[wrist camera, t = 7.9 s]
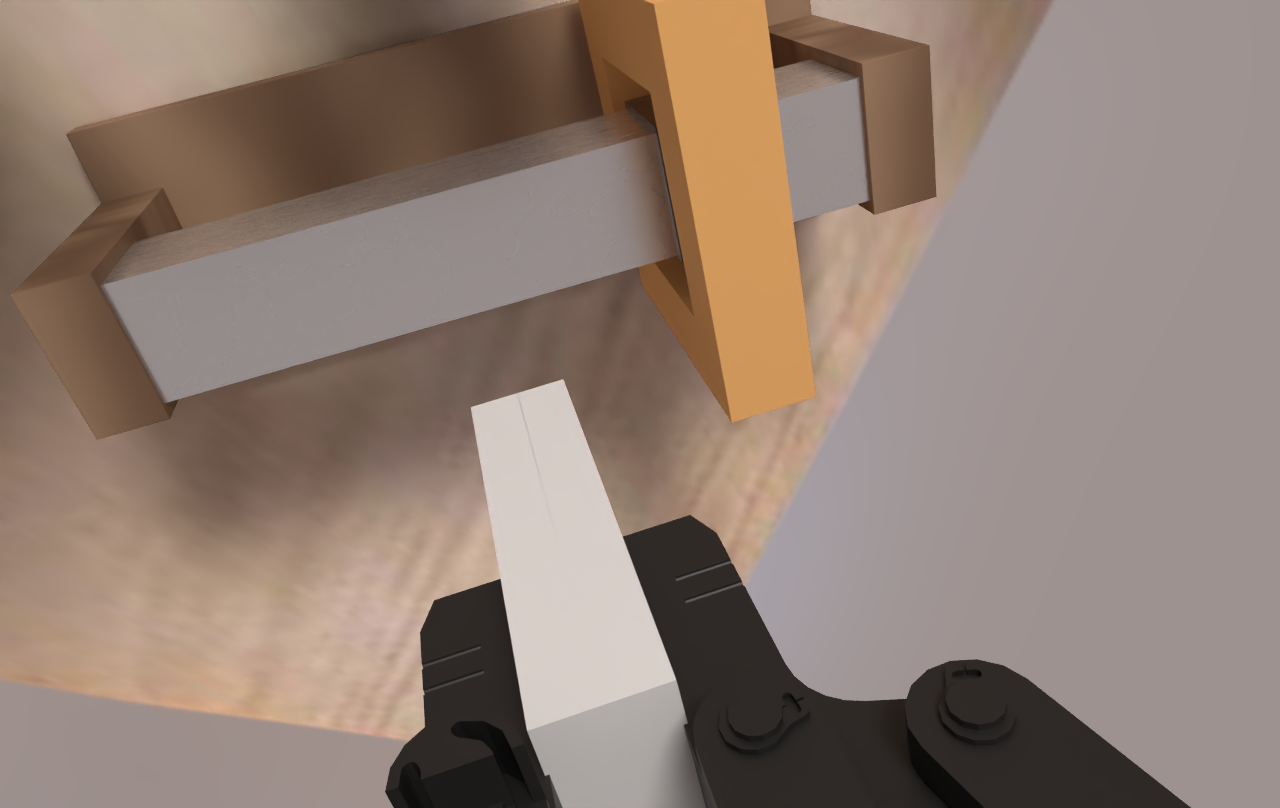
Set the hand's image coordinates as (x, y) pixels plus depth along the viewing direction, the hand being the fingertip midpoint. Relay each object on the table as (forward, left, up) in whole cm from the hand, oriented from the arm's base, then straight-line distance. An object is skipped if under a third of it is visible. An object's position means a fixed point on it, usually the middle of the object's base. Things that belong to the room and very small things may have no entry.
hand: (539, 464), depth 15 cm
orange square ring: (+6, 0, -20) cm, 21 cm away
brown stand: (+1, 0, -22) cm, 22 cm away
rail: (+1, 0, -16) cm, 16 cm away
